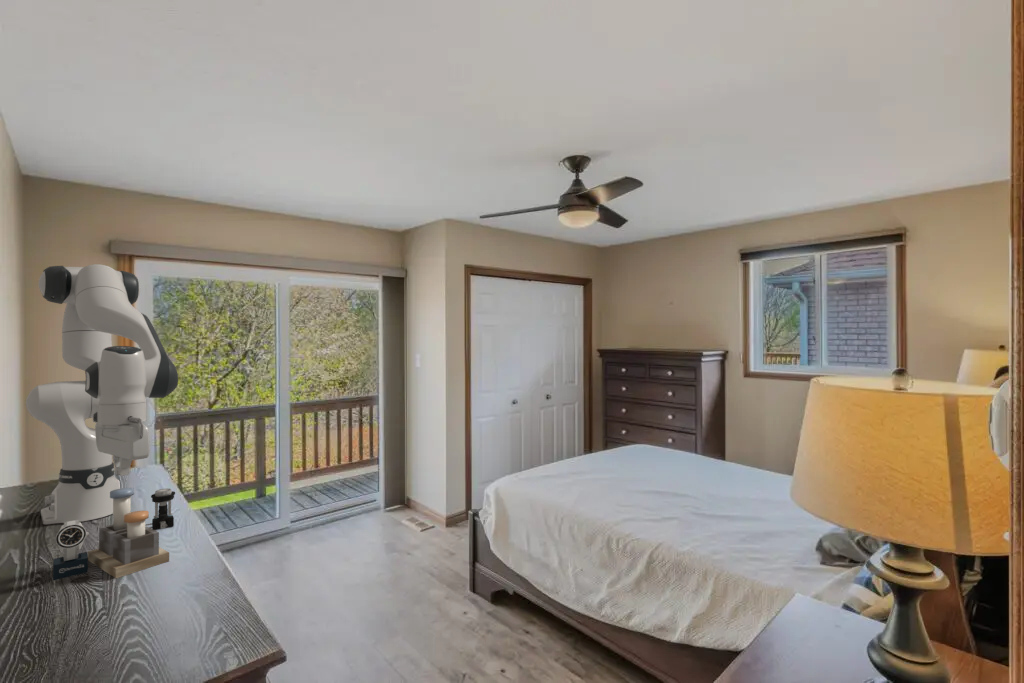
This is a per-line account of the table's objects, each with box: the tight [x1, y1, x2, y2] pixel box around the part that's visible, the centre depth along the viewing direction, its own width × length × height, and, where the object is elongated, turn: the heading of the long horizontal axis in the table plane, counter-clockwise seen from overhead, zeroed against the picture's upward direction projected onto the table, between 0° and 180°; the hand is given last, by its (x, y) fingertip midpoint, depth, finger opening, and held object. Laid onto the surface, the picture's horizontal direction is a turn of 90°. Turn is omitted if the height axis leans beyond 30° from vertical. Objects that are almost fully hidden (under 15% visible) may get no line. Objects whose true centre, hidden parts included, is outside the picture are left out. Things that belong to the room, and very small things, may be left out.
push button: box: [145, 488, 176, 531], centre depth 133 cm, size 7×5×10 cm
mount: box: [87, 524, 170, 579], centre depth 112 cm, size 16×10×7 cm, turn 57°
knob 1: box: [110, 487, 135, 531], centre depth 115 cm, size 4×4×9 cm
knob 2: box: [124, 510, 149, 539], centre depth 110 cm, size 4×4×9 cm
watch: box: [52, 520, 90, 581], centre depth 106 cm, size 6×8×11 cm
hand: (122, 474), depth 115 cm, fingers closed
